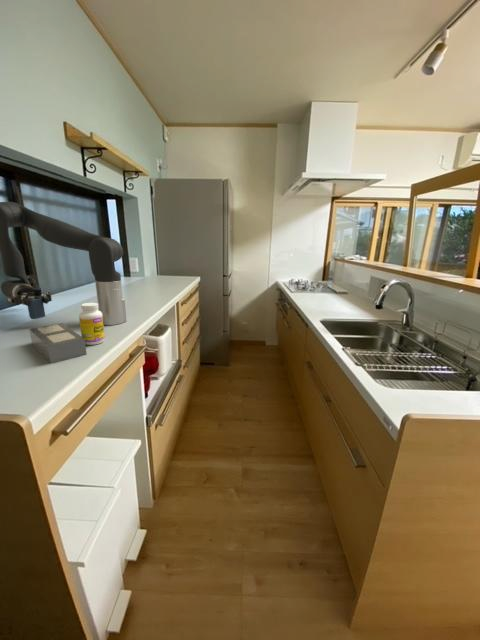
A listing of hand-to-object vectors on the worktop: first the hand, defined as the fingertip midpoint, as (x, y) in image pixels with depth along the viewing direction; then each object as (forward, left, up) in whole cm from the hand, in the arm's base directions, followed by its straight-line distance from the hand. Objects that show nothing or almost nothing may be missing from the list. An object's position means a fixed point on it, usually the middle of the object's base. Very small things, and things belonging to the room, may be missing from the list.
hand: (37, 301), depth 98 cm
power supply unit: (+2, +27, -10) cm, 28 cm away
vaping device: (0, -3, -7) cm, 7 cm away
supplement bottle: (-8, +28, -10) cm, 30 cm away
